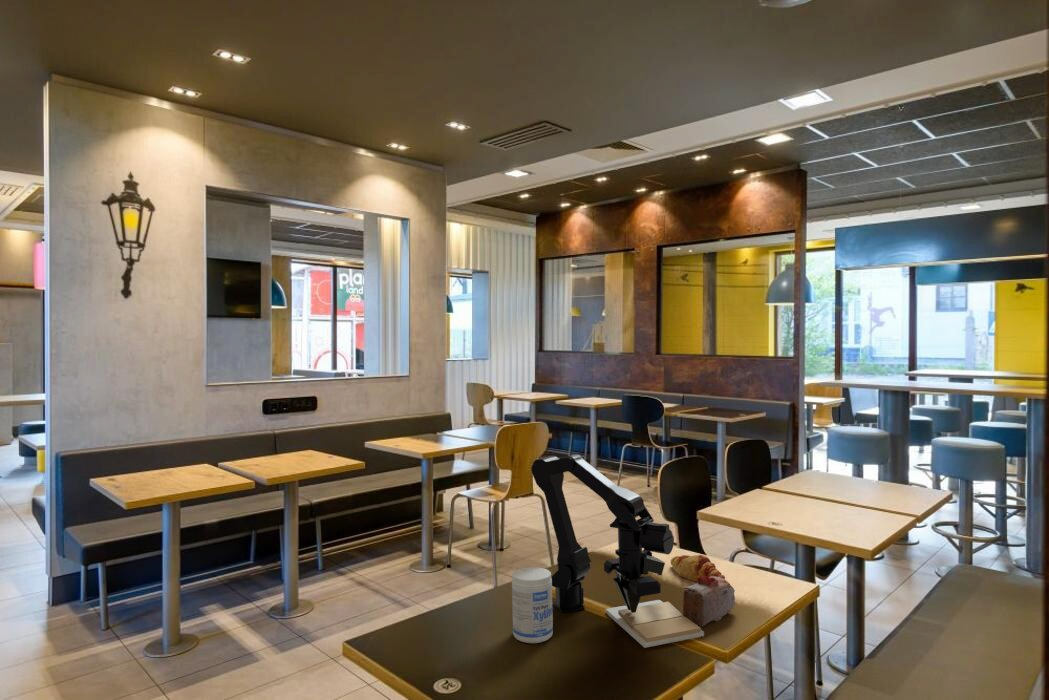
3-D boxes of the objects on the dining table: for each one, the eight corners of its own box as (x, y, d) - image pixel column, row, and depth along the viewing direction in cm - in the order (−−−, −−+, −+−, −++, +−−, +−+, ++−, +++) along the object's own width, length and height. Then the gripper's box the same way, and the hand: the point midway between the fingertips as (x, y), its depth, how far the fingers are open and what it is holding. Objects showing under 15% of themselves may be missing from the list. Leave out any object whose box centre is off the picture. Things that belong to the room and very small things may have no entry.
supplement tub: (541, 648, 142) (539, 583, 142) (505, 639, 147) (503, 577, 147) (560, 631, 151) (558, 569, 150) (525, 623, 155) (524, 564, 155)
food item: (709, 604, 164) (708, 566, 164) (738, 613, 158) (737, 573, 158) (679, 620, 155) (678, 580, 155) (708, 630, 149) (707, 588, 149)
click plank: (631, 628, 148) (631, 624, 148) (618, 614, 155) (618, 610, 155) (683, 619, 153) (683, 615, 153) (668, 605, 159) (668, 601, 159)
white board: (644, 647, 141) (644, 638, 141) (605, 612, 160) (605, 605, 160) (704, 636, 146) (703, 627, 146) (659, 603, 165) (659, 595, 165)
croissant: (665, 579, 191) (654, 558, 189) (685, 558, 196) (675, 537, 194) (718, 601, 173) (707, 578, 171) (740, 577, 177) (729, 554, 176)
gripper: (679, 554, 147) (681, 621, 147) (641, 532, 165) (642, 592, 165) (637, 560, 143) (639, 629, 144) (602, 537, 161) (603, 598, 161)
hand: (631, 610), depth 153 cm, fingers closed
